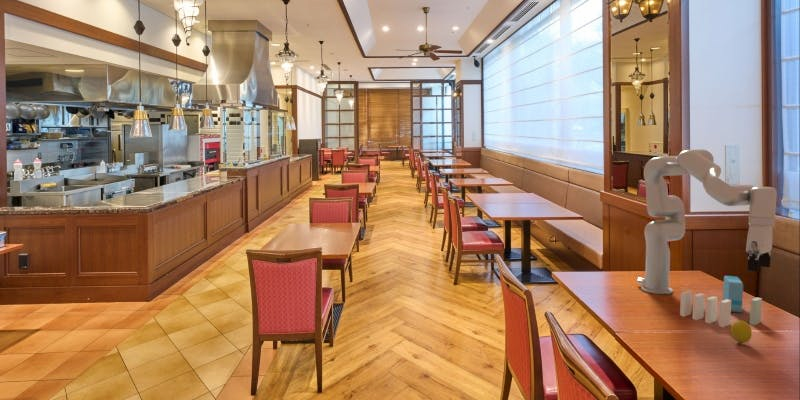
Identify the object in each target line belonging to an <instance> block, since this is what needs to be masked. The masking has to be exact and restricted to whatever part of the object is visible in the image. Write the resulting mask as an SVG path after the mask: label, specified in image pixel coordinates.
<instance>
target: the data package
mask: <svg viewBox="0 0 800 400" xmlns="http://www.w3.org/2000/svg"><path fill="white" fill-rule="evenodd" d="M722 285H723V287H722V301H723V300H726V299H728V300H731V313H740V314H741V313H742V311H743V310H742V309H743V296H744V283H743V281H741V279H740V278H739V277H738V276H733V275H724V276H723V284H722Z"/></svg>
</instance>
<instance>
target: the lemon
mask: <svg viewBox="0 0 800 400" xmlns="http://www.w3.org/2000/svg"><path fill="white" fill-rule="evenodd" d="M730 335H731V337H732V339H733V340H735V341H736V342H737V343H738V344H740V345H742V344H745V343H748V342H749V341H750V339H751V338H752V328H751V326H750V324H749V323H747V322H746V321H745V320H742V319H740V320H737V321H735V322H733V324H731V328H730Z"/></svg>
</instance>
